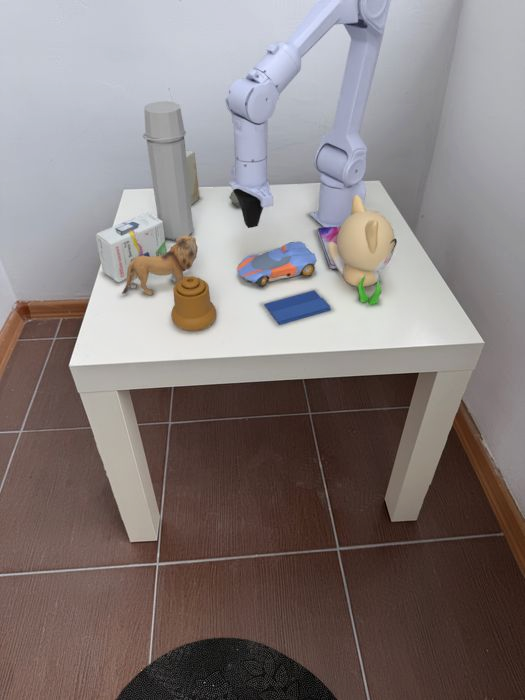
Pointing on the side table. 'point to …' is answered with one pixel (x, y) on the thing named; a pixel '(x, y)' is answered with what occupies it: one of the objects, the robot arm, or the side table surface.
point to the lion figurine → (163, 263)
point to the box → (192, 176)
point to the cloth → (297, 307)
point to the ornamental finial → (192, 304)
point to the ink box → (130, 244)
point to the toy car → (278, 264)
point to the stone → (234, 199)
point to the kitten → (363, 248)
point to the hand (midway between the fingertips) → (251, 225)
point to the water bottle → (169, 167)
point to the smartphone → (329, 236)
